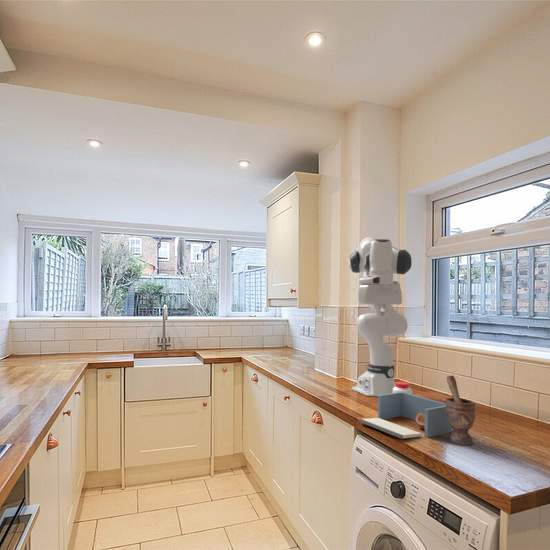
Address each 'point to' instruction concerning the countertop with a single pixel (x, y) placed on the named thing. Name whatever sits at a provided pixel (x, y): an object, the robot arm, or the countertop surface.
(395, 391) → the pill bottle
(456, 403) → the mortar and pestle
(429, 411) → the crate
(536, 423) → the countertop surface
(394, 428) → the white rectangular panel
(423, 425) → the fruit slice
